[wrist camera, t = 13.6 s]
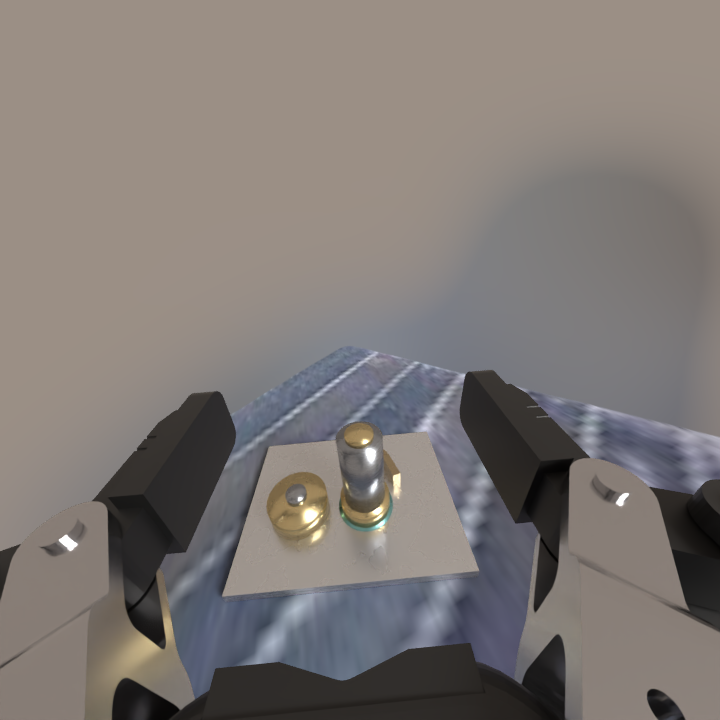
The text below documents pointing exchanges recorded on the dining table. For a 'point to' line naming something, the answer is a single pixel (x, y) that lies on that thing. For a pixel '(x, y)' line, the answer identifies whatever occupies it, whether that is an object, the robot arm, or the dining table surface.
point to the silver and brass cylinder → (362, 474)
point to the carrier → (347, 526)
